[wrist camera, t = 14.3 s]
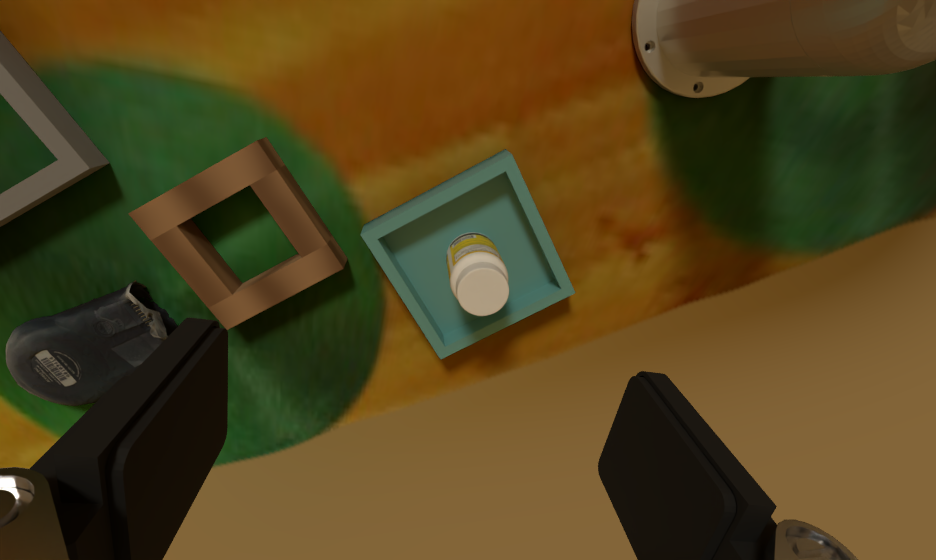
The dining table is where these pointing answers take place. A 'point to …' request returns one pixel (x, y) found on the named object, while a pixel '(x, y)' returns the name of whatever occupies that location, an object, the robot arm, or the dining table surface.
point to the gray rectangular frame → (43, 136)
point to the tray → (450, 215)
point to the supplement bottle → (477, 274)
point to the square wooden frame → (204, 265)
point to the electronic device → (87, 346)
